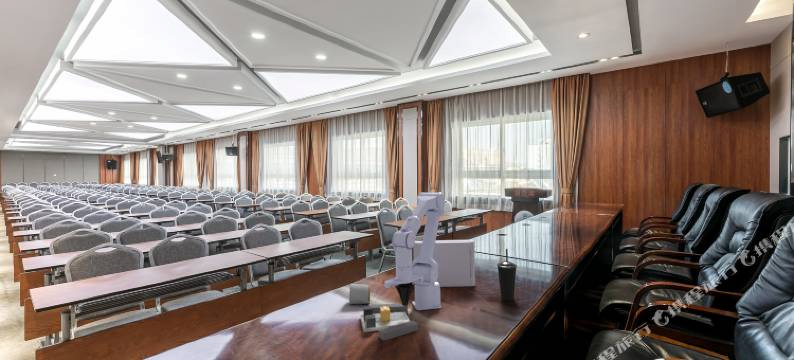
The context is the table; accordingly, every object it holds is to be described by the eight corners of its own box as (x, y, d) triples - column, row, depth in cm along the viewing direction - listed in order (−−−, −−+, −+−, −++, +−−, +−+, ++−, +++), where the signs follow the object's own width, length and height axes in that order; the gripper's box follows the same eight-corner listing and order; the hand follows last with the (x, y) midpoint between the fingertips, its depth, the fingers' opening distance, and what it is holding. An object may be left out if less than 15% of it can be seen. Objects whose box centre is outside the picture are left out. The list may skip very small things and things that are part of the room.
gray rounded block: (370, 306, 136) (370, 286, 136) (349, 307, 136) (348, 287, 135) (370, 297, 147) (370, 278, 147) (351, 297, 146) (350, 279, 146)
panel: (404, 313, 128) (404, 302, 128) (411, 326, 117) (411, 314, 117) (360, 318, 125) (360, 306, 125) (363, 332, 114) (363, 319, 114)
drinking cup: (496, 301, 139) (495, 250, 138) (498, 294, 146) (497, 246, 145) (516, 303, 136) (516, 251, 135) (518, 296, 143) (517, 247, 142)
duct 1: (407, 311, 131) (407, 303, 131) (407, 314, 128) (407, 306, 128) (372, 312, 131) (372, 304, 131) (372, 316, 128) (371, 307, 128)
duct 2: (413, 327, 117) (413, 320, 117) (418, 331, 115) (418, 323, 115) (378, 338, 111) (378, 330, 111) (383, 341, 108) (383, 333, 108)
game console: (476, 286, 156) (475, 242, 156) (414, 287, 157) (413, 243, 156) (473, 282, 162) (472, 239, 162) (414, 283, 162) (413, 240, 162)
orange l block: (388, 316, 123) (388, 305, 123) (390, 320, 120) (390, 309, 120) (380, 317, 122) (379, 306, 122) (381, 321, 119) (381, 310, 119)
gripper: (415, 260, 129) (416, 297, 129) (380, 266, 122) (380, 305, 122) (426, 264, 123) (427, 303, 123) (389, 271, 116) (390, 312, 116)
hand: (404, 304), depth 122 cm, fingers closed
